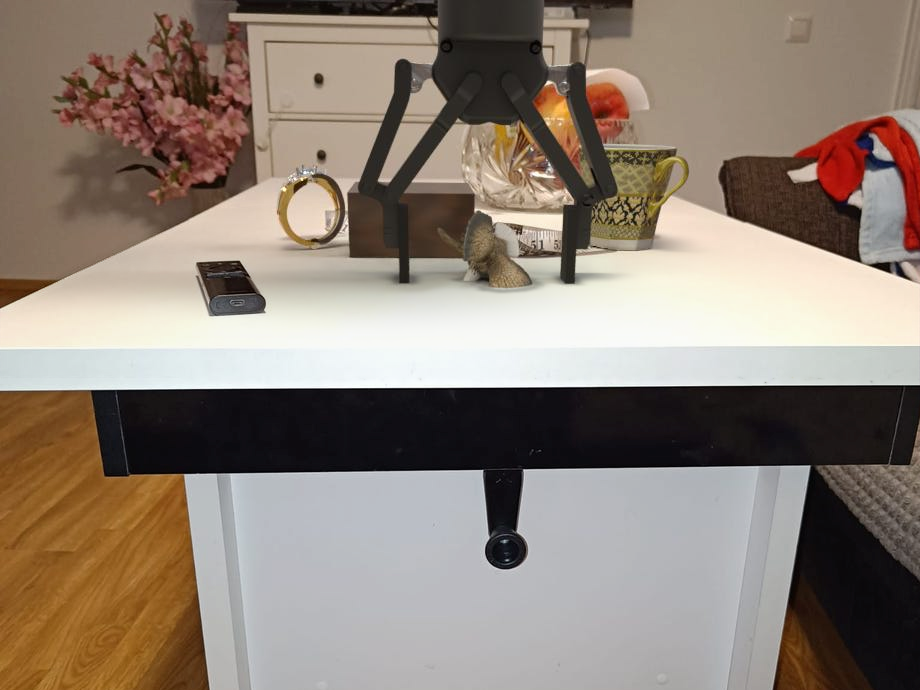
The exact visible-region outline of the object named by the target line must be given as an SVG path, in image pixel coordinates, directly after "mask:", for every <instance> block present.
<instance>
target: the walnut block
mask: <svg viewBox="0 0 920 690" xmlns="http://www.w3.org/2000/svg"><path fill="white" fill-rule="evenodd" d="M381 182H382V183H384V184H387V185H388V184H389V183H390V181H381ZM358 184H359V181H354V183H353V184H352V186H351V187H350V188H349V189H348V190H347V192H346V199H347V200H346V202H347V225H348V227H347V228H348V252H349V253H348V255H349V258H399V248H386V246H385V244H384V238H383V208H382V205H381V203H380V202H379V201H377V200H375V199H373V198H370V197H367V196H363V195H361V194H360V193H359V191H358ZM399 203H409V259H410V258H415V259H416V258H417V259H418V258H423V259H424V258H426V259H427V258H428V259H429V258H431V259H433V258H434V259H439V258H440V259H443V258H444V259H463V255H461V254H460V252H459V251H457V250H456V249H455V248H453V247H451V246H449V245H448V244H447V243H446V242H444V241H443V240H442V238H441V236H440V234H439V233H438V231H437V228H441V229H442V230H443V231H444V232H445V233H446V234H447V235H448V236H449V237H451V238H452V239H453V240H455V241H456V242H458V243H461V235H462V233H463V231H464V230H465V228H467V225H468V222H469V220H470V219H471V217H472V216H473V214H475V212H476V194H475V192H474V190H473V188H472V187H471V185H470V183H469V182H427V181H426V182H421V181H418V182H417V181H416V182H415V181H412V182H411V184H410V185H409V186H408V188H407V189H406V190H405V192H404V193H403V195H402V196H401V197H400V199H399Z"/></svg>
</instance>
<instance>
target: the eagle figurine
mask: <svg viewBox="0 0 920 690" xmlns="http://www.w3.org/2000/svg"><path fill="white" fill-rule="evenodd" d="M437 231H438V233H439V234H440V236H441V238H442V240H443V241H444V242H446V243H447V244H448V245H449V246H451V247H453V248H455V249H456V250H457V251H459V252H460V254H461V255H463V258H462V261H463V262H466V263H468V269H467V271H466V273H465V275H464V277H463V279H462V281H463V282H475V281H478V280H480V279H481V278H484V277H485V276H487V275H488V281H489V284H488V288H496V289H514V288H524V287H529V286H532V285H533V281H532V278H531V277H530V274H529V273H528V271H526V270H525V269H524V268H523V267H522V266H521V265H519V263H516V262H515V260H513V259H515V258H518V257H519V256H520V246H519V239H518V237H517V233H516V232H515V231H514V230H513V229H512V228H511V227H510V226H508V225H507V224H506V223H503V222H500V221H497V222H496V223H495V225H494V226H493V218H492V216H491V215H489V214H488V213H485V212H482V211H481V210H480V209H478V210H475V214H473V216H472V217H471V219H470V220H469V222H468V225H467V228H465V230H464V231H463V233H462V235H461V243H458V242H456V241H455V240H453V239H452V238H451V237H449V236H448V235H447V234H446V233H445V232H444V231H443V230H442V229H441V228H437ZM512 258H513V259H512Z"/></svg>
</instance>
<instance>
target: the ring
mask: <svg viewBox="0 0 920 690" xmlns="http://www.w3.org/2000/svg"><path fill="white" fill-rule="evenodd" d="M320 169H321V167H320V166H319V165H313V164H312V165H311V164H310V165H308V169H306V164H301V171H300V166H296V167H295V173H292V174H291V175H289V176H288V177H287V178H285V180H284V181H283V183H282V184H281V186H280V187H279V191H278V195H277V200H276V216H277V220H278V224H279V226H280V228H281V229H282V231H283V232H284V234H285V235H286V236H287V237H288V238H289V239H290V240H291V241H293V242H294V243H297V244H298V245H300V246H304V247H308V248H309V249H312V250H316V249H317V250H318V249H319V247H321V246H325V245H327V244H328V243H329V242H332V241H333V240H334V239H335V238H336V237H337V235H338V234H339V233H340V231H341V230H342V228H343V225H344V222H345V218H346V203H345V198H344V195H343V192H342V189H341V187H340V186H339V184H338V182H337V181H336V180H335V179H334V178H333V177H331V176H330V175H328V174H327V169H328V168H323V169H322V171H320ZM308 184H316V185H317V186H319V187H320V188H322V189H323V190H324V191H325V192H326V193H327V194H328V195H329V197H330V198H331V200H332V202H333V206H334V213H335V214H334V221H333V223H332V226H331V228H330V229H329V230H328V232H326V234H324V235H323V236H320V237H318V238H317V237H315V236H314V237H313V236H310V237H308V238H307V239H305V238H304V237H303V238H302V237H300V235H298V234H296V233H295V232H294V230H293V229H292V227H291V226H290V223H289V219H288V207H289V205H290V201H291V200H292V198H293V196H294V195H295V194H296V193H297V192H298V191H299V190H301V189H302V188H304V187H305V186H307V185H308Z"/></svg>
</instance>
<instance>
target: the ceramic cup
mask: <svg viewBox="0 0 920 690" xmlns="http://www.w3.org/2000/svg"><path fill="white" fill-rule="evenodd" d="M603 146H604V149H605V152H606V155H607V158H608V161H609V164H610V166H611V169H612V172H613V175H614V178H615V181H616V184H617V187H618V192H617V194H616V196H614V197H613V198H608V199H605V200H602V201H599V202H597V203H596V204H595V205H594V207H593V209H592V219H591V235H590V236H591V237H590V245H591V247H592V246H597V247H603V248H608V249H607V250H610V251H643V250H648V249H649V250H650V249H651V248H652V247H653V243H654V238H655V234H656V231H657V230H656V229H657V227H658V226H657V225H658V221H659V218H660V214H661V210H662V206H663V205H664V204H665V203H666V202H667V201H668V199H669V198H670V197H671V196H673V194H674V193H676V192H678V190H680V189H681V188H682V187H683V186H684V185H685V184H686V183H687V180H688V179H689V174H690V168H689V163H688V161H687V160H686V158H684V157H683V156H678V155H677V153H678V152H677V151H678V148H677V147H676V146H669V145H657V144H656V145H655V144H635V143H634V144H630V143H629V144H628V143H627V144H626V143H603ZM578 155H579V156H578V157H579V158H578V159H579V167H580V168H579V169H580V176H581V177H582V179H583V180H584V182H585V183H586V185H587V186H589V185H591V184H594V181H593V178H592V175H591V172H590V169H589V167H588V164H587V161H586V158H585V155H584V152H583V150H582V147H581V144H580V145H578ZM676 163H678V164H680V165H681V167H682V170H683V173H682V178H681V180H680V181H679V182H678V183H677V184H676V185H675V186H674V187H672V188H671V189H670V190H669V191H667V190H668V186H669V183H670V180H671V176H672V173H673V168H674V165H675V164H676ZM597 247H596V248H597ZM603 248H602V249H603Z"/></svg>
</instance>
